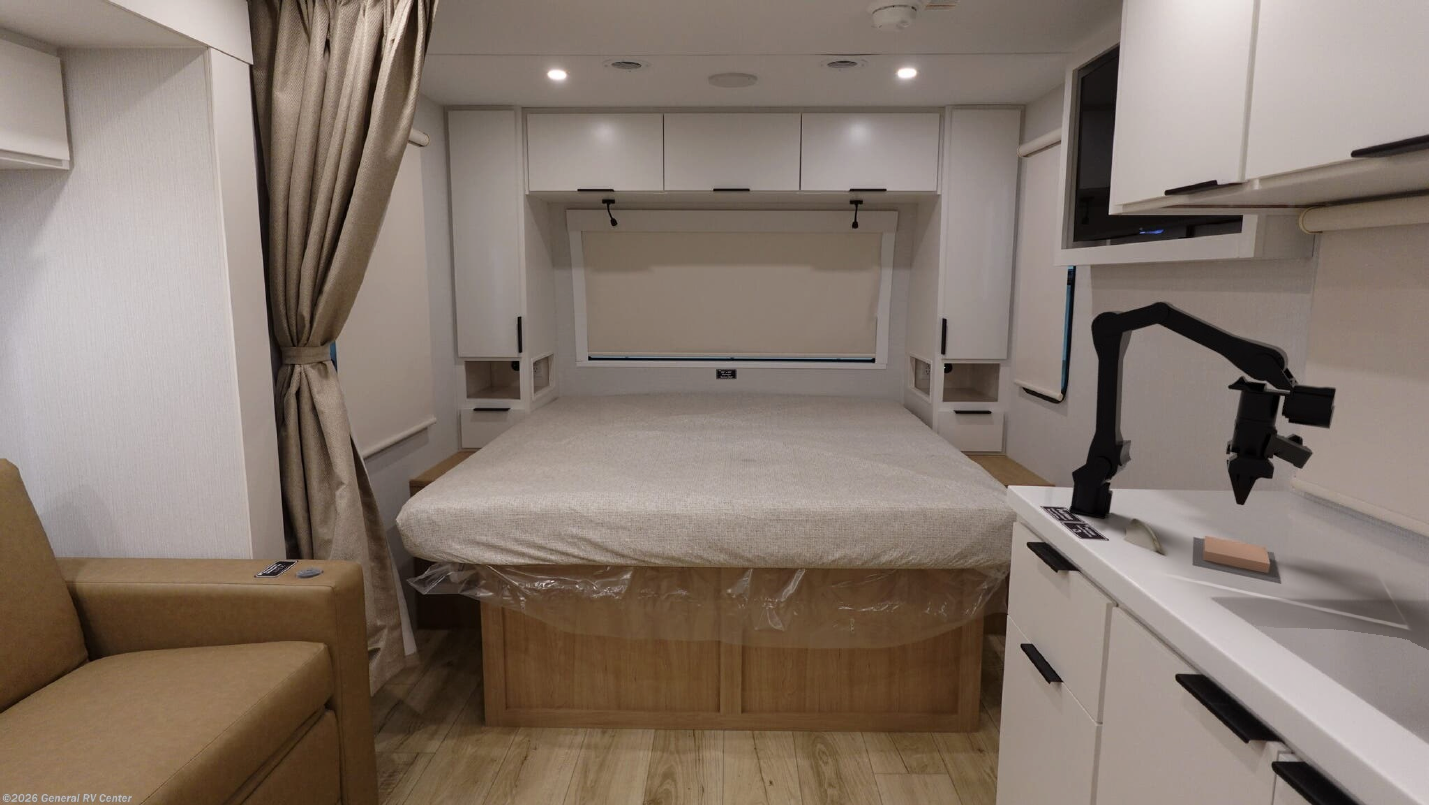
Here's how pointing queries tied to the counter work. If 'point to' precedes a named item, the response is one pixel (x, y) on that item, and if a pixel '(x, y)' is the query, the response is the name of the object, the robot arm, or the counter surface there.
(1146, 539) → the ceramic fragment
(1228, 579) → the counter surface
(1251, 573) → the mat
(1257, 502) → the counter surface
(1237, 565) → the tile
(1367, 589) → the counter surface
